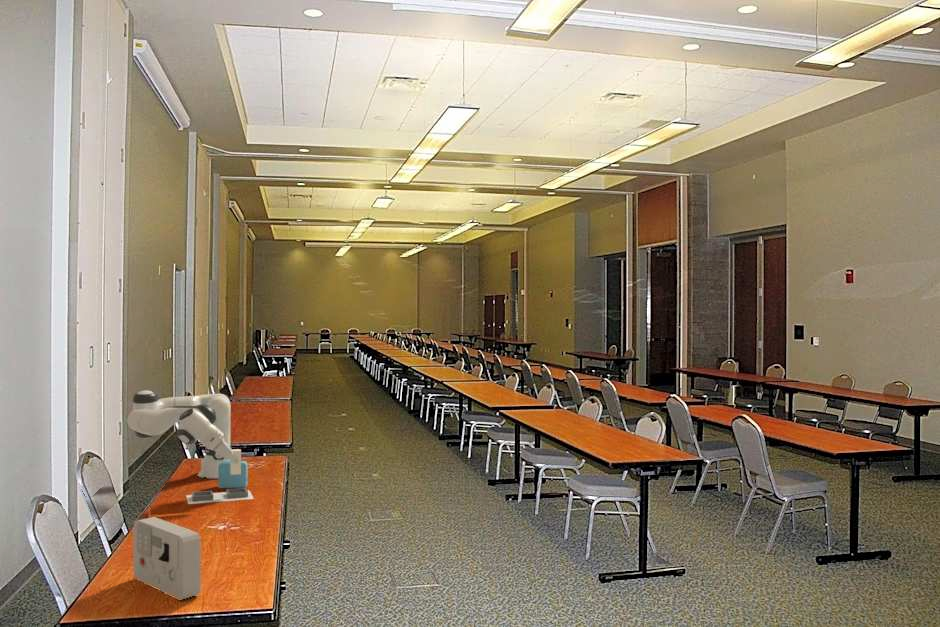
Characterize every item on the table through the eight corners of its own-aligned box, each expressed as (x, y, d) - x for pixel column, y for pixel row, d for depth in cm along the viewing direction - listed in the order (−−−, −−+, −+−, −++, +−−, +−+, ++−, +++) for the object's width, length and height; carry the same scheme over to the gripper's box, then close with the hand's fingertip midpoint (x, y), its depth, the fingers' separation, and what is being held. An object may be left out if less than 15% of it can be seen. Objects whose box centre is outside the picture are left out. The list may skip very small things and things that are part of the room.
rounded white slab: (125, 581, 228) (125, 520, 228) (150, 574, 234) (150, 515, 234) (175, 605, 210) (175, 539, 210) (200, 597, 216) (201, 533, 215)
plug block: (230, 472, 329) (230, 449, 329) (239, 472, 330) (240, 449, 330) (230, 474, 325) (231, 451, 325) (240, 474, 327) (241, 450, 327)
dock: (186, 497, 328) (186, 490, 328) (249, 492, 338) (249, 485, 338) (188, 506, 313) (188, 499, 313) (253, 501, 323) (254, 493, 323)
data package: (247, 487, 348) (247, 460, 348) (246, 489, 344) (246, 462, 344) (219, 487, 346) (220, 461, 346) (218, 490, 342) (218, 463, 342)
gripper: (206, 440, 333) (229, 461, 337) (209, 448, 314) (233, 471, 318) (217, 429, 335) (240, 451, 338) (220, 437, 316) (245, 459, 319)
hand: (237, 460), depth 328 cm, fingers closed on plug block, 4 cm apart
